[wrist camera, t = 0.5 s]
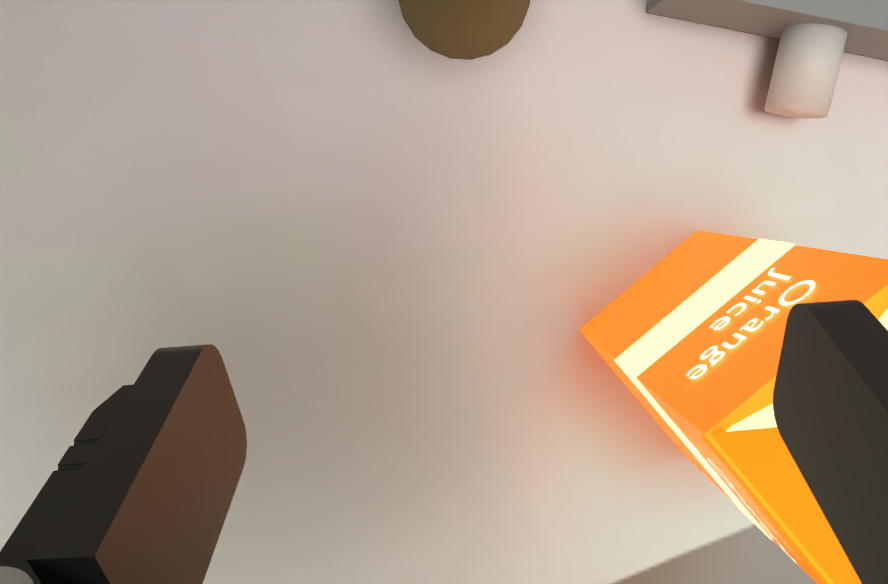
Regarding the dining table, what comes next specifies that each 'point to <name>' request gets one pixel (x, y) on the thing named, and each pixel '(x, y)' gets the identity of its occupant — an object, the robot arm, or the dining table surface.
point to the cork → (464, 24)
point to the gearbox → (796, 41)
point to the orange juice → (735, 369)
